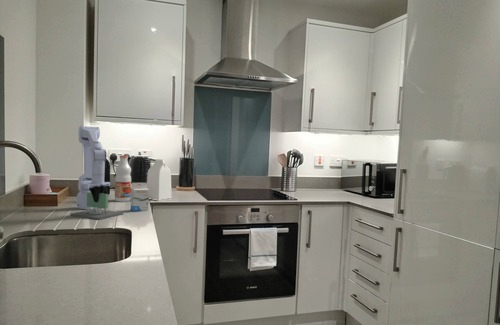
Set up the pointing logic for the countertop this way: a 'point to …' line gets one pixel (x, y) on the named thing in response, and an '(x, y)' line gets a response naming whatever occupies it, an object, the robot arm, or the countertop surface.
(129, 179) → the fruit juice
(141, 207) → the ink box
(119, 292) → the countertop surface
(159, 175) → the milk
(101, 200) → the board
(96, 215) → the plate
